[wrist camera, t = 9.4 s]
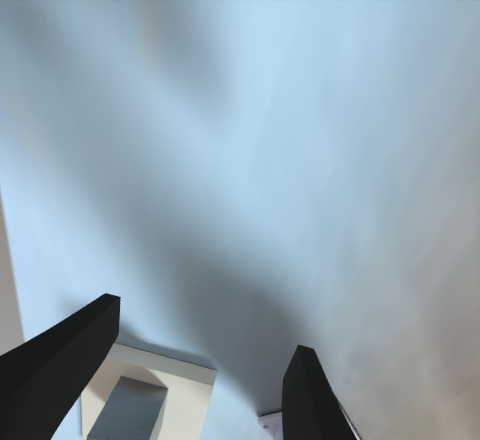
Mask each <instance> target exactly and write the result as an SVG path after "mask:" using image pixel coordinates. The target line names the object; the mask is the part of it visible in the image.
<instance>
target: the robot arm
mask: <svg viewBox="0 0 480 440" xmlns="http://www.w3.org/2000/svg"><path fill="white" fill-rule="evenodd" d="M120 298H121V297H118V296H115V295H111V294H107V293H105V294H103V295H102V296H100V297H99V298H97V299H96V300H94V301H92V302H91V303H89V304H88V305H86V306H85V307H83V308H82V309H80V310H79V311H77V312H75V313H74V314H72V315H71V316H69V317H68V318H66V319H64V320H63V321H61V322H59V323H58V324H56V325H55V326H53V327H51V328H50V329H48V330H46V331H45V332H43V333H41V334H39V335H38V336H36V337H34V338H32V339H31V340H29V341H27V342H25V343H24V344H22V345H20V346H18V347H17V348H14V349H12V350H11V351H9V352H7V353H5V354H3V355H1V356H0V440H51V438H52V436H53V435H54V433H55V431H56V430H57V428H58V427H59V425H60V424H61V422H62V421H63V419H64V417H65V416H66V415H67V413H68V412H69V410H70V409H71V407H72V406H73V405H74V403H75V402H76V400H77V399H78V397H79V396H80V395H81V393H82V392H83V390H84V389H85V387H86V386H87V385H88V383H89V382H90V380H91V379H92V377H93V376H94V374H95V373H96V372H97V370H98V369H99V367H100V366H101V364H102V363H103V361H104V360H105V358H106V356H107V355H108V353H109V351H110V349H111V348H112V346H113V344H114V342H115V340H116V338H117V336H118V334H119V317H120ZM258 424H259V425H260V427H261V428H262V429H263V431H264V432H265V433H266V434H267V436H268V437H269V438H270V440H361V439H360V437H359V436H358V434H357V432H356V431H355V429H354V428H353V426H352V424H351V423H350V421H349V419H348V418H347V416H346V414H345V413H344V411H343V409H342V408H341V406H340V404H339V403H338V401H337V399H336V397H335V395H334V393H333V391H332V389H331V387H330V384H329V382H328V380H327V378H326V376H325V373H324V371H323V369H322V366H321V364H320V362H319V359H318V357H317V355H316V352H315V350H314V349H313V348H309V347H305V346H301V345H298V346H297V349H296V351H295V353H294V355H293V358H292V360H291V362H290V365H289V367H288V369H287V371H286V374H285V376H284V378H283V391H282V412H279V413H275V414H270V415H266V416H261V417H259V418H258Z"/></svg>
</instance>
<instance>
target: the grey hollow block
mask: <svg viewBox="0 0 480 440" xmlns="http://www.w3.org/2000/svg"><path fill="white" fill-rule="evenodd" d="M167 394H168V388H165V387H161V386H158V385H154V384H150V383H147V382H143V381H139V380H136V379H132V378H128V377H125V376H121V377H120V378H119V380H118V382H117V384H116V385H115V387H114V389H113V391H112V393H111V394H110V396H109V398H108V400H107V401H106V403H105V405H104V407H103V409H102V410H101V412H100V414H99V416H98V417H97V419H96V421H95V423H94V425H93V426H92V428H91V430H90V432H89V434H88V435H87V440H157V439H158V436H159V433H160V431H161V428H162V423H163V417H164V411H165V406H166V400H167Z"/></svg>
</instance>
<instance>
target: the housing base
mask: <svg viewBox="0 0 480 440" xmlns="http://www.w3.org/2000/svg"><path fill="white" fill-rule="evenodd" d="M216 373H217V371H216V370H212V369H209V368H205V367H201V366H198V365H194V364H190V363H187V362H183V361H179V360H176V359H172V358H168V357H165V356H161V355H157V354H154V353H150V352H146V351H143V350H139V349H135V348H131V347H128V346H124V345H120V344H117V343H114V344H113V346H112V348H111V349H110V351H109V353H108V355H107V356H106V358H105V360H104V361H103V363H102V364H101V366H100V367H99V369H98V370H97V372H96V373H95V374H94V376H93V377H92V379H91V380H90V382H89V383H88V385H87V386H86V387H85V389H84V390H83V392H82V393H81V405H82V438H83V440H87V435H88V434H89V432H90V430H91V428H92V426H93V425H94V423H95V421H96V419H97V417H98V416H99V414H100V412H101V410H102V409H103V407H104V405H105V403H106V401H107V400H108V398H109V396H110V394H111V393H112V391H113V389H114V387H115V385H116V384H117V382H118V380H119V378H120V377H121V376H125V377H128V378H132V379H136V380H139V381H143V382H147V383H150V384H154V385H158V386H161V387H165V388H168V394H167V400H166V406H165V411H164V417H163V423H162V428H161V431H160V433H159V436H158V439H157V440H198V439H199V436H200V432H201V429H202V425H203V422H204V418H205V415H206V411H207V407H208V404H209V400H210V397H211V393H212V390H213V386H214V382H215V377H216Z"/></svg>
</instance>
